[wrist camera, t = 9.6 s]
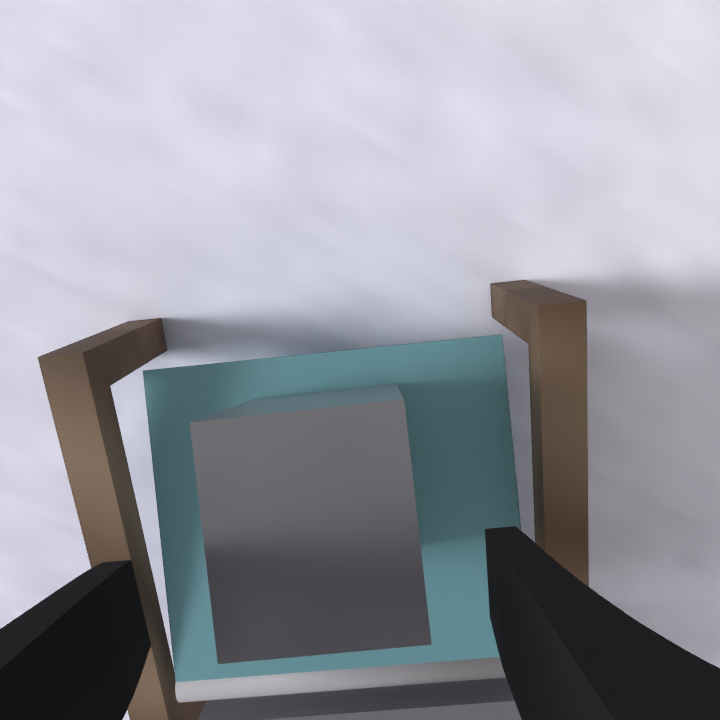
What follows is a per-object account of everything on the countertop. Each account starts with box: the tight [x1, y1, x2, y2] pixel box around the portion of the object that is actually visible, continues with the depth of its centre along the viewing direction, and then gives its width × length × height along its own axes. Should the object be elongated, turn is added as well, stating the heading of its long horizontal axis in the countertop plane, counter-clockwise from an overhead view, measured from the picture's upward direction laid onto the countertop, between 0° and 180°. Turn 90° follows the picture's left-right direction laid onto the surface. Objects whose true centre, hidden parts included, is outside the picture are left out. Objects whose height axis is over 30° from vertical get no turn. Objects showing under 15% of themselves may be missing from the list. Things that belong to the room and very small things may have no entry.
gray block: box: [190, 383, 432, 664], centre depth 14 cm, size 5×4×6 cm
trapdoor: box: [143, 335, 522, 720], centre depth 18 cm, size 15×11×4 cm
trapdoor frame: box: [38, 280, 589, 720], centre depth 18 cm, size 15×14×6 cm
